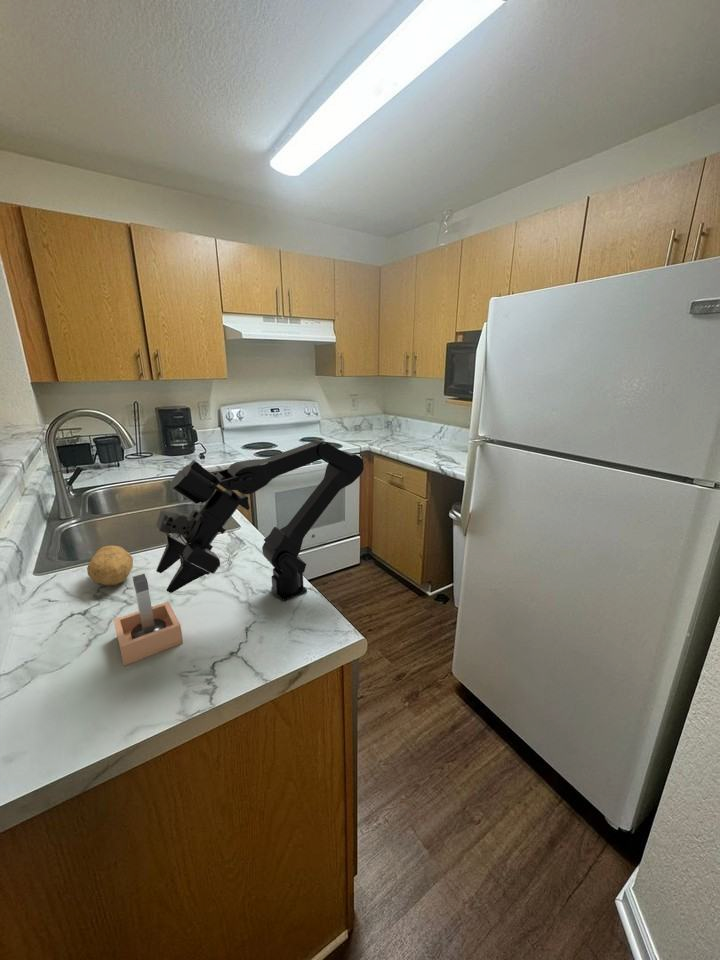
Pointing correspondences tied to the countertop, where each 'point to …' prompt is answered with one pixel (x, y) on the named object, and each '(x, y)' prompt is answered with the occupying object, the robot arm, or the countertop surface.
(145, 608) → the grey stamp
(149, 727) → the countertop surface
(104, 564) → the potato
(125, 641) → the peach square open box
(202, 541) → the robot arm
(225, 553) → the kitchen whisk
